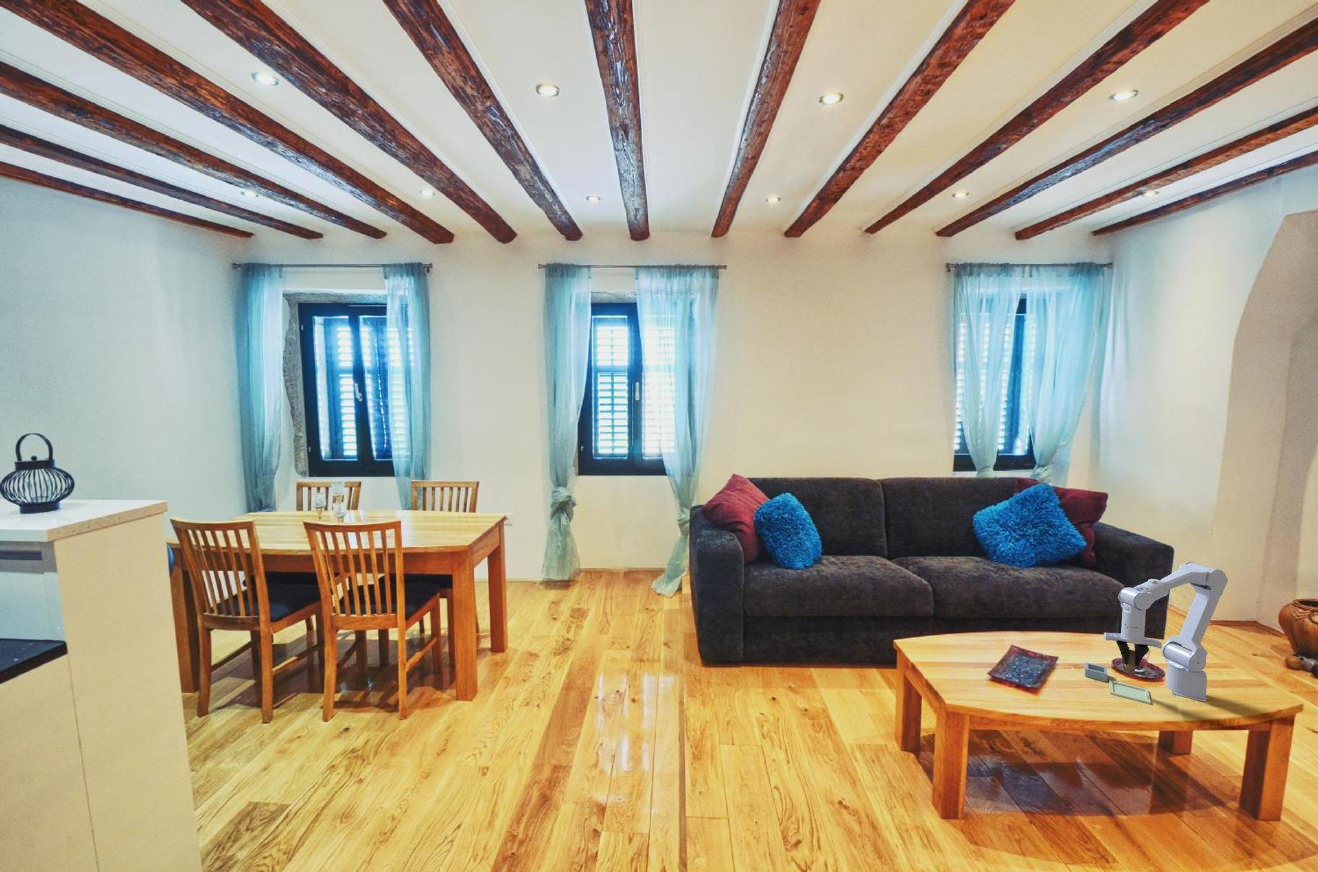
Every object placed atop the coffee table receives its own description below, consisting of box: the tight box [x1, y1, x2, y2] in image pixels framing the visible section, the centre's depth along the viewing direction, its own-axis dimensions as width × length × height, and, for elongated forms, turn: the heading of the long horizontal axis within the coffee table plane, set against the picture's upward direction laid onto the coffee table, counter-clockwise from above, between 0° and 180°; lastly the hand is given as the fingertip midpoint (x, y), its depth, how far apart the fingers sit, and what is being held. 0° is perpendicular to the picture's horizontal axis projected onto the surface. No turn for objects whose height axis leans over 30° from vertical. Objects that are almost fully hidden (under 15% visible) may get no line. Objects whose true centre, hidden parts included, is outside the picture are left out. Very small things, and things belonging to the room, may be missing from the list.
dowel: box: [1124, 648, 1136, 677], centre depth 178 cm, size 2×2×8 cm
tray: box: [1108, 679, 1152, 705], centre depth 179 cm, size 10×10×1 cm
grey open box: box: [1084, 662, 1109, 683], centre depth 189 cm, size 6×6×3 cm
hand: (1130, 664), depth 178 cm, fingers closed on dowel, 2 cm apart
